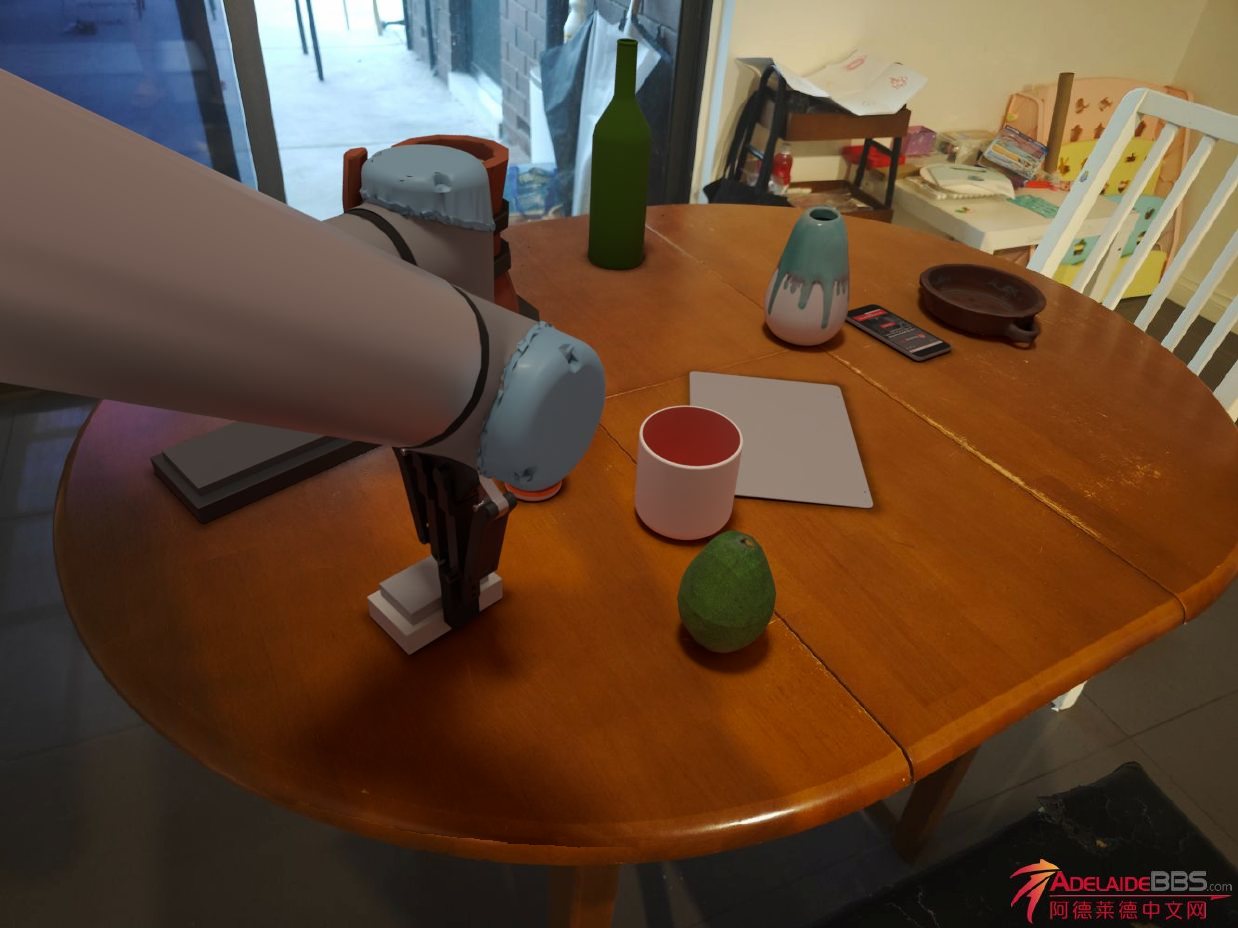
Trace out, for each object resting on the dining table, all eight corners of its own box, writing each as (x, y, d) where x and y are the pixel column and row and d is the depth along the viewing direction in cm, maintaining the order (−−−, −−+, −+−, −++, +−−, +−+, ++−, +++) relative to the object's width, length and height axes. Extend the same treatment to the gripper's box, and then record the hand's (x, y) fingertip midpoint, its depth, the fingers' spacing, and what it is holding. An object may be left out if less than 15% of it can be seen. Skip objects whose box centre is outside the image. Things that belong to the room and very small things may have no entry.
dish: (957, 278, 141) (966, 249, 138) (1072, 337, 126) (1085, 306, 123) (880, 296, 133) (888, 266, 130) (991, 362, 118) (1003, 330, 115)
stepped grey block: (409, 655, 71) (404, 624, 69) (369, 616, 75) (364, 585, 72) (502, 597, 77) (501, 567, 75) (462, 563, 81) (460, 533, 78)
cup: (703, 560, 83) (714, 482, 77) (615, 520, 87) (619, 443, 80) (746, 503, 90) (760, 427, 83) (663, 469, 93) (670, 393, 87)
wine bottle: (608, 243, 144) (619, 31, 125) (653, 258, 140) (671, 41, 121) (576, 259, 138) (582, 39, 119) (621, 275, 134) (636, 50, 115)
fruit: (717, 591, 80) (735, 491, 72) (782, 642, 75) (808, 541, 68) (654, 631, 75) (667, 529, 68) (720, 688, 71) (741, 585, 63)
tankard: (519, 389, 106) (516, 193, 91) (327, 363, 108) (294, 168, 93) (557, 311, 123) (560, 135, 108) (391, 290, 125) (371, 115, 111)
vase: (794, 362, 115) (820, 234, 104) (742, 325, 123) (762, 203, 112) (857, 344, 120) (889, 221, 110) (804, 310, 128) (828, 192, 117)
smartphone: (874, 303, 129) (954, 346, 120) (873, 307, 130) (952, 350, 120) (840, 313, 126) (919, 358, 116) (839, 317, 126) (917, 362, 117)
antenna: (658, 372, 111) (659, 364, 110) (838, 390, 111) (840, 382, 110) (654, 491, 91) (655, 482, 90) (872, 513, 91) (875, 504, 90)
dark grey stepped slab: (202, 524, 83) (195, 500, 81) (154, 472, 89) (146, 449, 87) (425, 425, 98) (423, 403, 96) (372, 387, 104) (369, 365, 102)
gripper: (546, 402, 58) (545, 638, 72) (432, 331, 65) (452, 559, 79) (456, 444, 53) (473, 687, 67) (344, 363, 60) (381, 598, 74)
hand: (462, 617), depth 73 cm, fingers closed
